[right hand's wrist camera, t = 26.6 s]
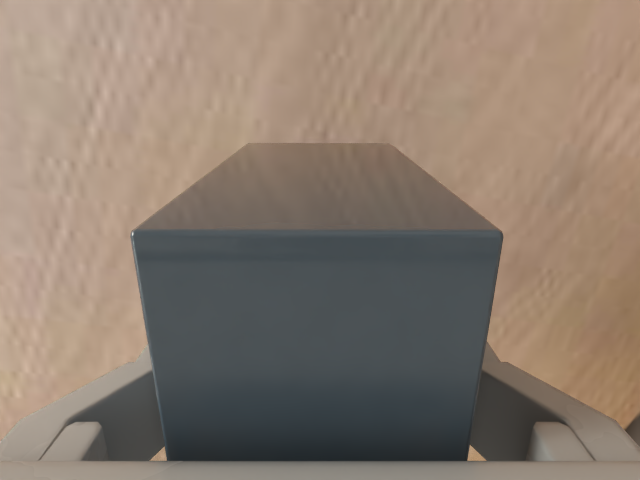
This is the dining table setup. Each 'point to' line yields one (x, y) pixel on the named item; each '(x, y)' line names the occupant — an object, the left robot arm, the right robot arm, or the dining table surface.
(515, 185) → the dining table surface
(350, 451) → the brick
